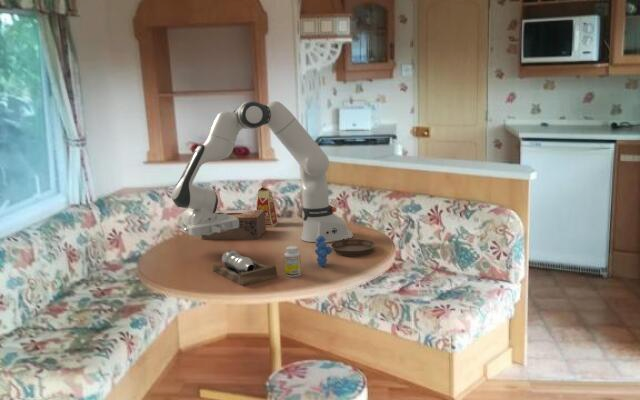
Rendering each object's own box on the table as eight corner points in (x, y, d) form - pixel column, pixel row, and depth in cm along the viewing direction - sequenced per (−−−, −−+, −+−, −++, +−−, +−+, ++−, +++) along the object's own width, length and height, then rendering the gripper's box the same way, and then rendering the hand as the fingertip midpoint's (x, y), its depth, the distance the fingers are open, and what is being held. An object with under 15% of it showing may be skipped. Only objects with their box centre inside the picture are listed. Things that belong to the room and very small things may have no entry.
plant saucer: (351, 243, 261) (351, 236, 261) (384, 250, 249) (384, 242, 249) (322, 253, 249) (321, 246, 248) (356, 261, 237) (355, 253, 236)
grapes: (336, 270, 227) (334, 238, 224) (317, 271, 226) (315, 239, 223) (331, 260, 238) (330, 230, 235) (313, 262, 237) (312, 231, 235)
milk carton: (273, 227, 294) (270, 185, 289) (254, 227, 295) (251, 185, 291) (278, 222, 302) (275, 181, 298) (259, 222, 304) (257, 181, 300)
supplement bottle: (292, 271, 227) (291, 244, 225) (304, 274, 224) (302, 246, 222) (282, 275, 223) (280, 248, 221) (293, 278, 220) (292, 250, 218)
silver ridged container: (239, 256, 239) (263, 267, 222) (227, 269, 237) (250, 282, 220) (228, 245, 236) (252, 256, 219) (216, 258, 234) (239, 270, 217)
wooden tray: (213, 270, 232) (212, 260, 232) (245, 262, 240) (245, 252, 239) (242, 285, 214) (241, 274, 214) (276, 276, 222) (276, 266, 221)
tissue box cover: (265, 231, 288) (264, 209, 286) (258, 239, 274) (256, 217, 272) (211, 231, 292) (210, 210, 290) (201, 239, 278) (199, 218, 276)
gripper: (181, 220, 241) (196, 226, 230) (228, 211, 253) (245, 217, 242) (182, 236, 242) (197, 243, 231) (229, 227, 254) (246, 233, 243)
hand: (222, 230), depth 237 cm, fingers closed
